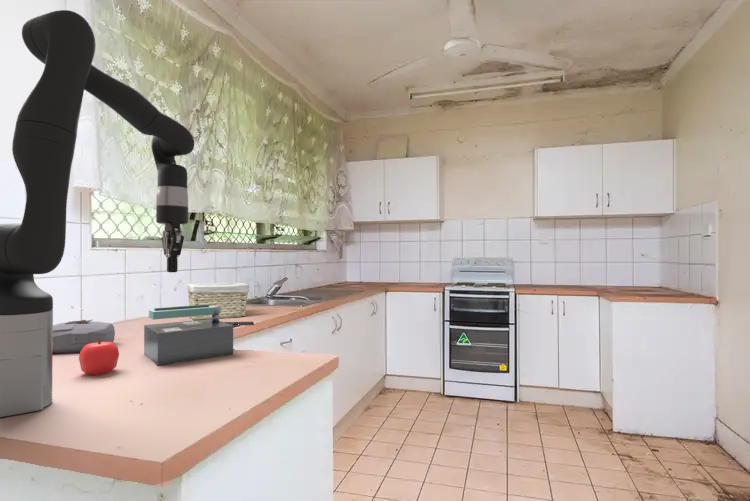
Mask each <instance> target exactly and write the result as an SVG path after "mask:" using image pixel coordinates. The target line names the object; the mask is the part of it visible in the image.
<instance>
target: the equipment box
mask: <svg viewBox="0 0 750 501" xmlns="http://www.w3.org/2000/svg"><path fill="white" fill-rule="evenodd" d="M224 322H225V321H221V320H220V318H219V313H218V314H213V315H212V319H198V320H194V319H193V320H188V321H187V320H184V321H183V320H182V321H176V322H174V321H173V322H163V323H153V324H144V325H143V331H144V332H143V337H144V338H143V347H144V348H143V354H144V356H146V357H147V358H148V359H149V360H150V361H151V362H152V363H154V365H155V366H157V367H159V366H166V365H172V364H173V365H174V364H178V363H179V364H180V363H186V362H194V361H201V360H206V359H207V360H208V359H213V357H214V358H220V357H221V358H222V357H228V356H233V355H234V327H233V325H230V324H227V323H224Z"/></svg>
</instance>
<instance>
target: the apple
mask: <svg viewBox="0 0 750 501" xmlns="http://www.w3.org/2000/svg"><path fill="white" fill-rule="evenodd" d="M119 356H120V351H119V347H118V346H117V345H116V344H115V343H114V342H113V343H112V342H101V339H100V338H99V340H98V342H97V343H91V344H88V345H85V346H84V348H83V349H82V350H81V352H79V355H78V362H79V366H80V370H81V372H83V373H85V374H86V375H90V376H102V375H105V374H108V373H110V372H112V371H113V370H115V368H117V365H118V361H119Z"/></svg>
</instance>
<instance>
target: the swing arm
mask: <svg viewBox="0 0 750 501" xmlns="http://www.w3.org/2000/svg"><path fill="white" fill-rule="evenodd" d="M218 313H221V306H209V305H208V304H207V305H193V306H189V305H181V306H169V307H167V306H166V307H154V309H149V310H148V318H150V319H151V320H162V319H163V320H165V319H173V318H187V317H189V318H190V316H201V315H213V314H218Z"/></svg>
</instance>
